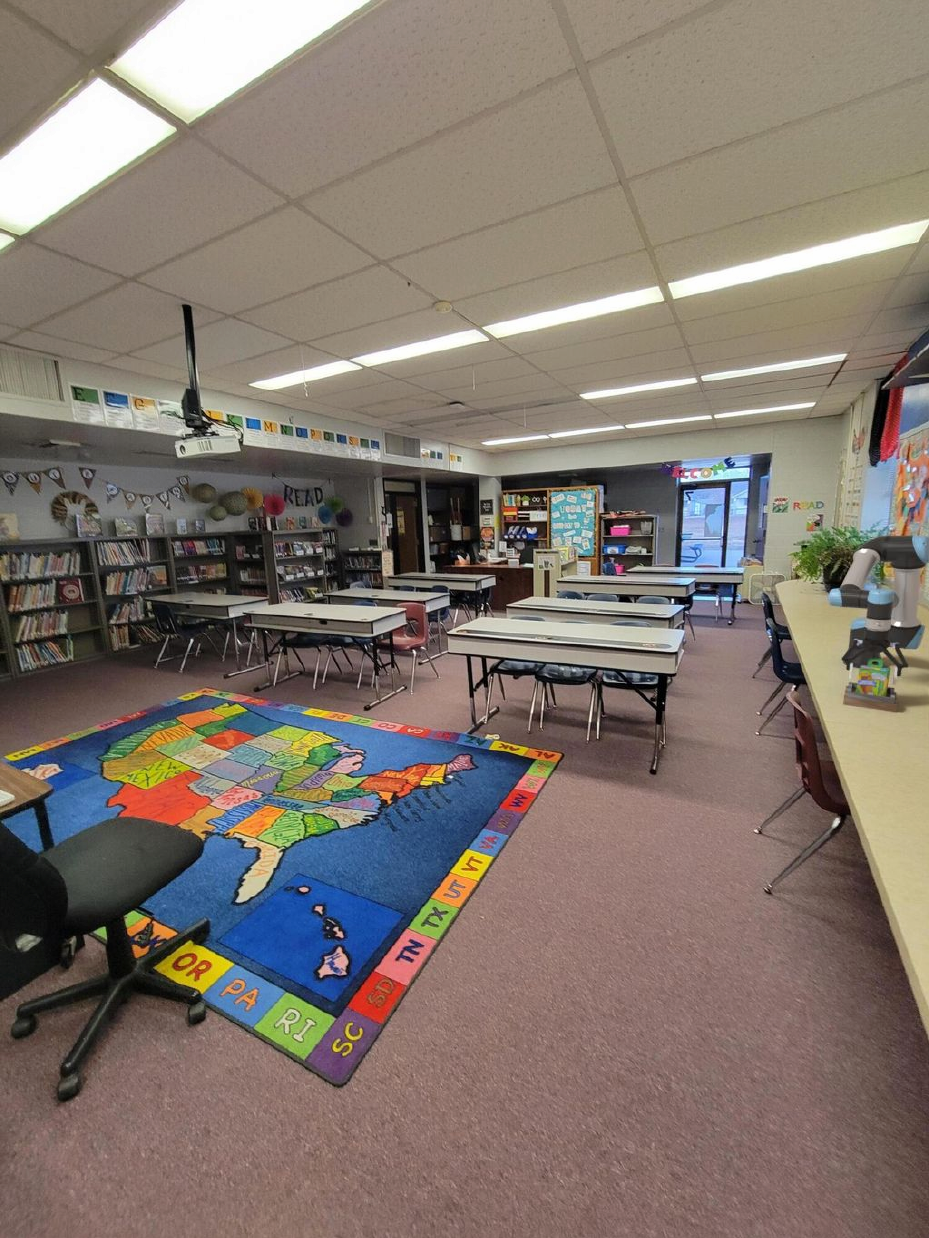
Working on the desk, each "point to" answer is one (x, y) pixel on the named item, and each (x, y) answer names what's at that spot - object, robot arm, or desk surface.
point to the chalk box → (873, 678)
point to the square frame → (870, 699)
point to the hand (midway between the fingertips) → (871, 680)
